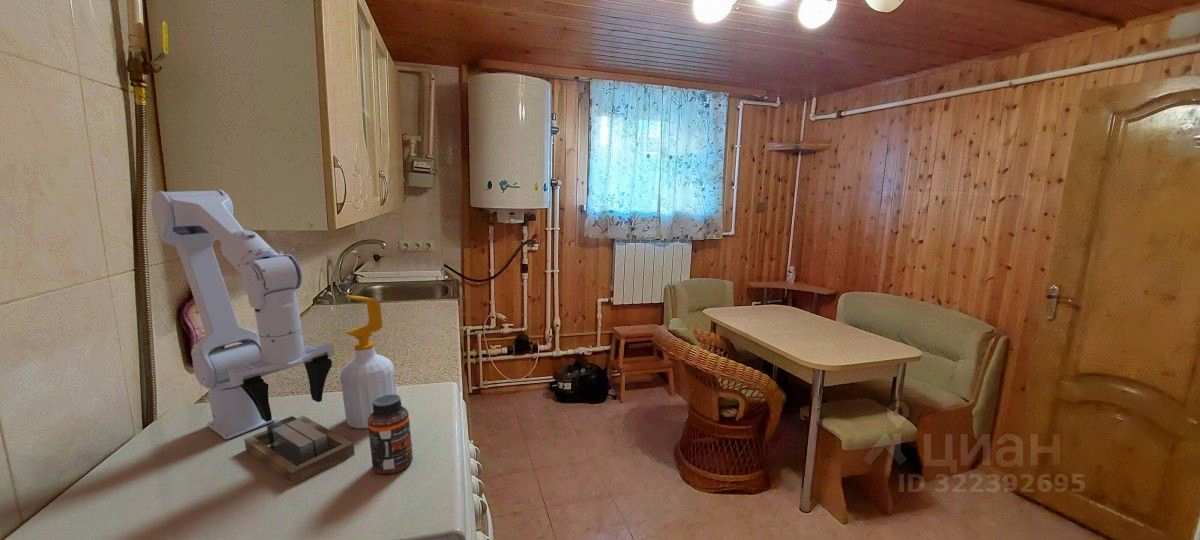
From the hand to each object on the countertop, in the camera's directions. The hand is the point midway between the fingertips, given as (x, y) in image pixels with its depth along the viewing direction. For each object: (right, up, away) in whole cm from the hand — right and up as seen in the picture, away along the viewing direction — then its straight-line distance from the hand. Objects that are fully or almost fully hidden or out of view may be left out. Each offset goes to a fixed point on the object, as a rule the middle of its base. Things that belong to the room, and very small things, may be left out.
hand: (292, 409), depth 77 cm
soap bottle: (+7, -6, +13) cm, 16 cm away
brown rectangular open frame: (0, -8, +1) cm, 8 cm away
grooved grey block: (0, -8, +1) cm, 8 cm away
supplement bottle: (+18, -8, -3) cm, 20 cm away
